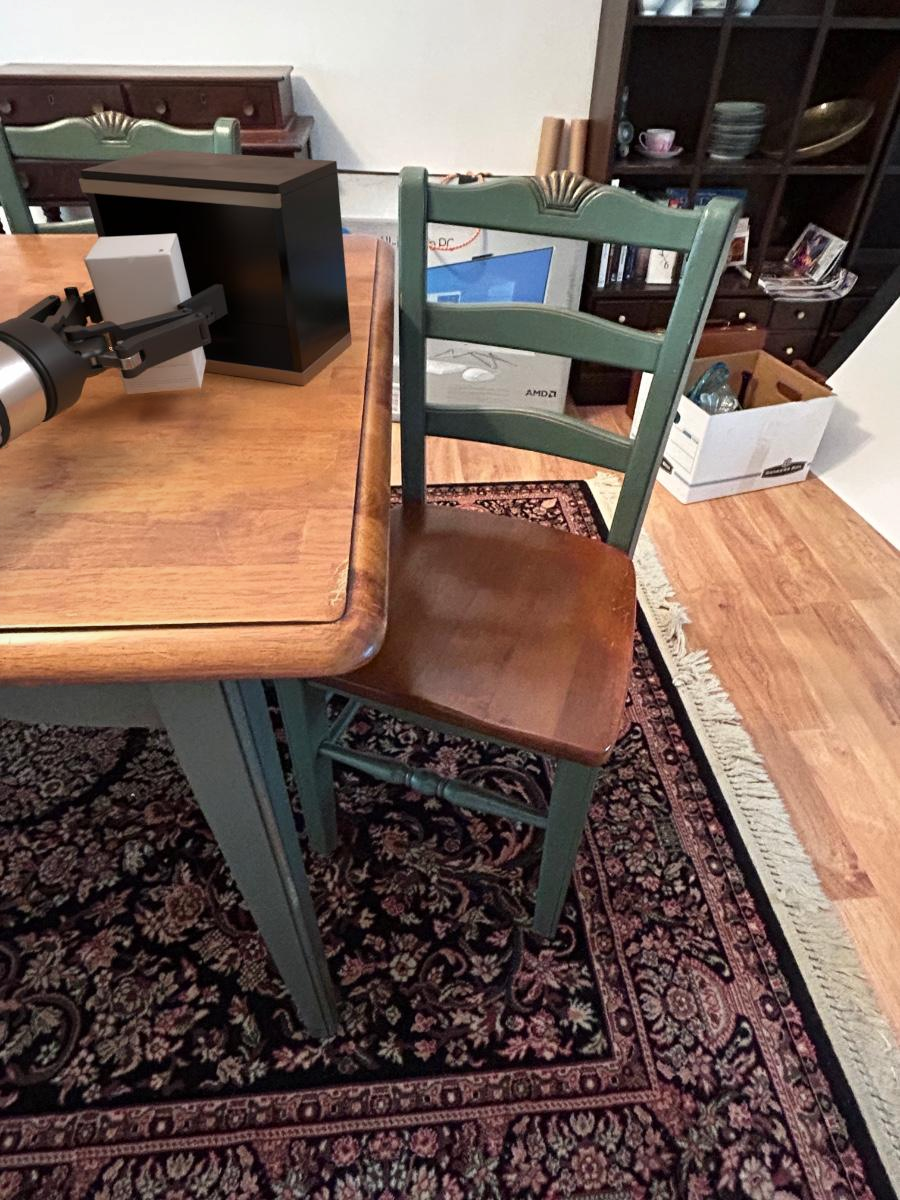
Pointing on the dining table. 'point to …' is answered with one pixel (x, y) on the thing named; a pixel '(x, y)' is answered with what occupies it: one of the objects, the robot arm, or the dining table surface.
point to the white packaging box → (145, 299)
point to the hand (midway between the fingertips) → (176, 293)
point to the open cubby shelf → (243, 250)
